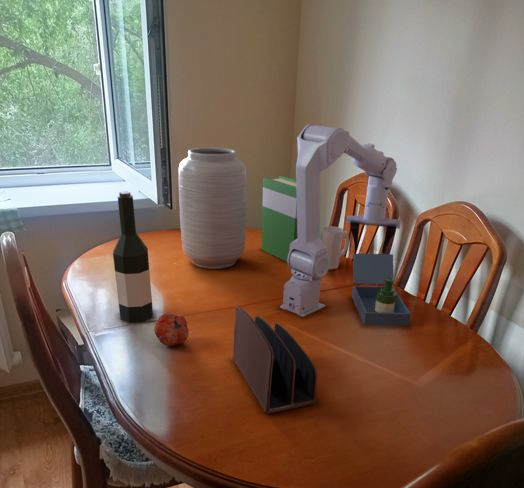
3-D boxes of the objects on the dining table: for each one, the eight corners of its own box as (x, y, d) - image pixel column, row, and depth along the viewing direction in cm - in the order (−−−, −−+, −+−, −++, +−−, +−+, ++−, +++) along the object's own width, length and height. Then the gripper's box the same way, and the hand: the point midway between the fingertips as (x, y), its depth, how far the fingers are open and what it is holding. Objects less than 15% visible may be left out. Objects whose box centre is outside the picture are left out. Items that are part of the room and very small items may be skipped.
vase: (174, 254, 162) (168, 146, 146) (231, 248, 170) (231, 145, 154) (193, 276, 146) (189, 157, 130) (255, 267, 154) (258, 155, 138)
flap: (353, 283, 133) (353, 283, 134) (393, 284, 134) (393, 284, 134) (353, 253, 134) (353, 253, 135) (393, 254, 135) (392, 254, 135)
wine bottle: (145, 324, 118) (134, 198, 104) (113, 320, 119) (98, 195, 105) (159, 310, 125) (150, 190, 111) (128, 306, 126) (115, 187, 112)
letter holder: (266, 415, 88) (268, 347, 82) (232, 360, 105) (232, 300, 98) (315, 405, 92) (322, 338, 85) (275, 353, 108) (278, 294, 101)
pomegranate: (151, 351, 111) (161, 343, 103) (148, 319, 113) (157, 309, 104) (183, 348, 115) (195, 340, 106) (179, 317, 116) (191, 307, 107)
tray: (351, 298, 136) (353, 285, 134) (391, 299, 136) (393, 286, 134) (363, 326, 121) (365, 313, 119) (408, 327, 121) (410, 313, 119)
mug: (324, 271, 153) (328, 233, 148) (313, 263, 159) (317, 227, 153) (351, 267, 157) (356, 230, 152) (340, 260, 163) (344, 224, 157)
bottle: (385, 324, 121) (392, 284, 116) (369, 318, 124) (375, 278, 119) (395, 318, 124) (402, 279, 119) (379, 312, 127) (386, 274, 122)
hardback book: (261, 249, 170) (263, 177, 159) (278, 245, 174) (281, 175, 162) (292, 264, 157) (297, 188, 146) (310, 260, 161) (316, 185, 150)
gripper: (403, 201, 136) (395, 248, 142) (350, 197, 139) (344, 243, 145) (403, 207, 130) (395, 256, 136) (348, 202, 132) (343, 251, 139)
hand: (369, 250), depth 140 cm, fingers open, 7 cm apart
